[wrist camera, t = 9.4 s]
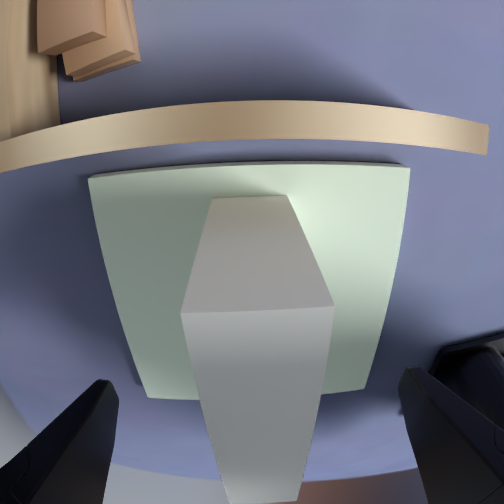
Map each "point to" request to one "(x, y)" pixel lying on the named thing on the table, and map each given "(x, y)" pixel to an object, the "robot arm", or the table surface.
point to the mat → (188, 237)
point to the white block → (257, 344)
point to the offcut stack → (88, 35)
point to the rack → (183, 113)
